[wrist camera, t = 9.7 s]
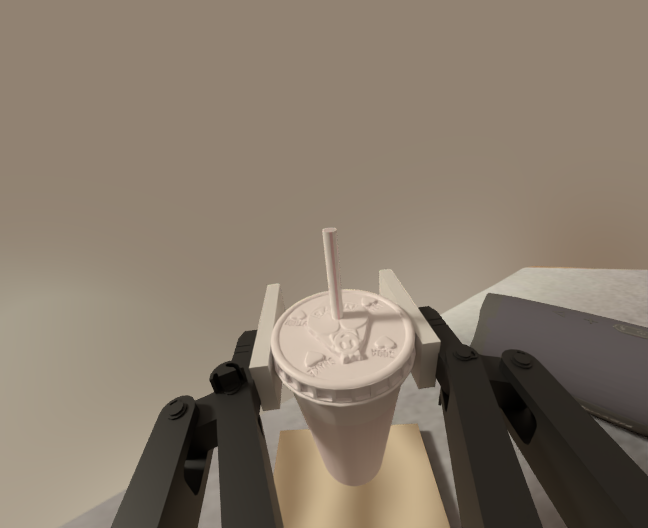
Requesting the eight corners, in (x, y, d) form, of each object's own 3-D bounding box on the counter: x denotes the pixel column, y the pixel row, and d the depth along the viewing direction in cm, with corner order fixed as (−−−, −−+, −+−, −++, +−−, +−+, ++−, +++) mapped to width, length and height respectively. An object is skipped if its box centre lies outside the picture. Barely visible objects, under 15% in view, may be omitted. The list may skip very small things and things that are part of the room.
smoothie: (382, 392, 19) (381, 203, 13) (429, 499, 13) (470, 253, 7) (296, 413, 18) (250, 223, 12) (307, 536, 13) (232, 297, 6)
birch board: (245, 694, 15) (240, 691, 14) (282, 437, 27) (280, 430, 27) (497, 694, 14) (501, 691, 14) (416, 430, 27) (417, 423, 26)
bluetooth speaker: (763, 434, 24) (853, 353, 19) (827, 547, 17) (980, 468, 13) (481, 335, 37) (495, 275, 33) (462, 379, 31) (476, 313, 27)
